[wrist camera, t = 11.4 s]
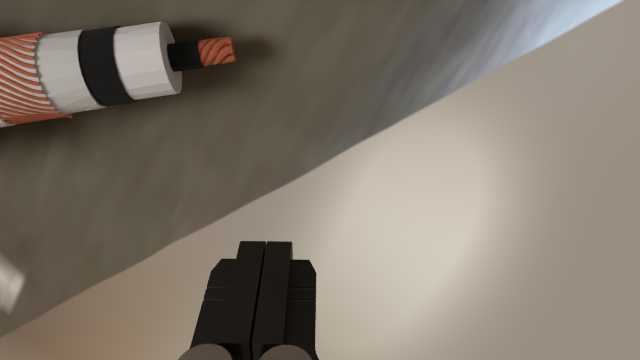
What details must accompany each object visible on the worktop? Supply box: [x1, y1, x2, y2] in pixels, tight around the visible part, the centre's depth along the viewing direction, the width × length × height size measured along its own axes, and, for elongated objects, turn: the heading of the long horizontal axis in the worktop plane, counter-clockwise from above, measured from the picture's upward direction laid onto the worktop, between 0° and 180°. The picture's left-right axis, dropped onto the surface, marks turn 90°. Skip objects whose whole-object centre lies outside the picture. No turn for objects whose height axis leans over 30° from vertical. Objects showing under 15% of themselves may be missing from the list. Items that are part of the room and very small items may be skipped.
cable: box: [0, 21, 236, 127], centre depth 41 cm, size 10×34×10 cm, turn 97°
